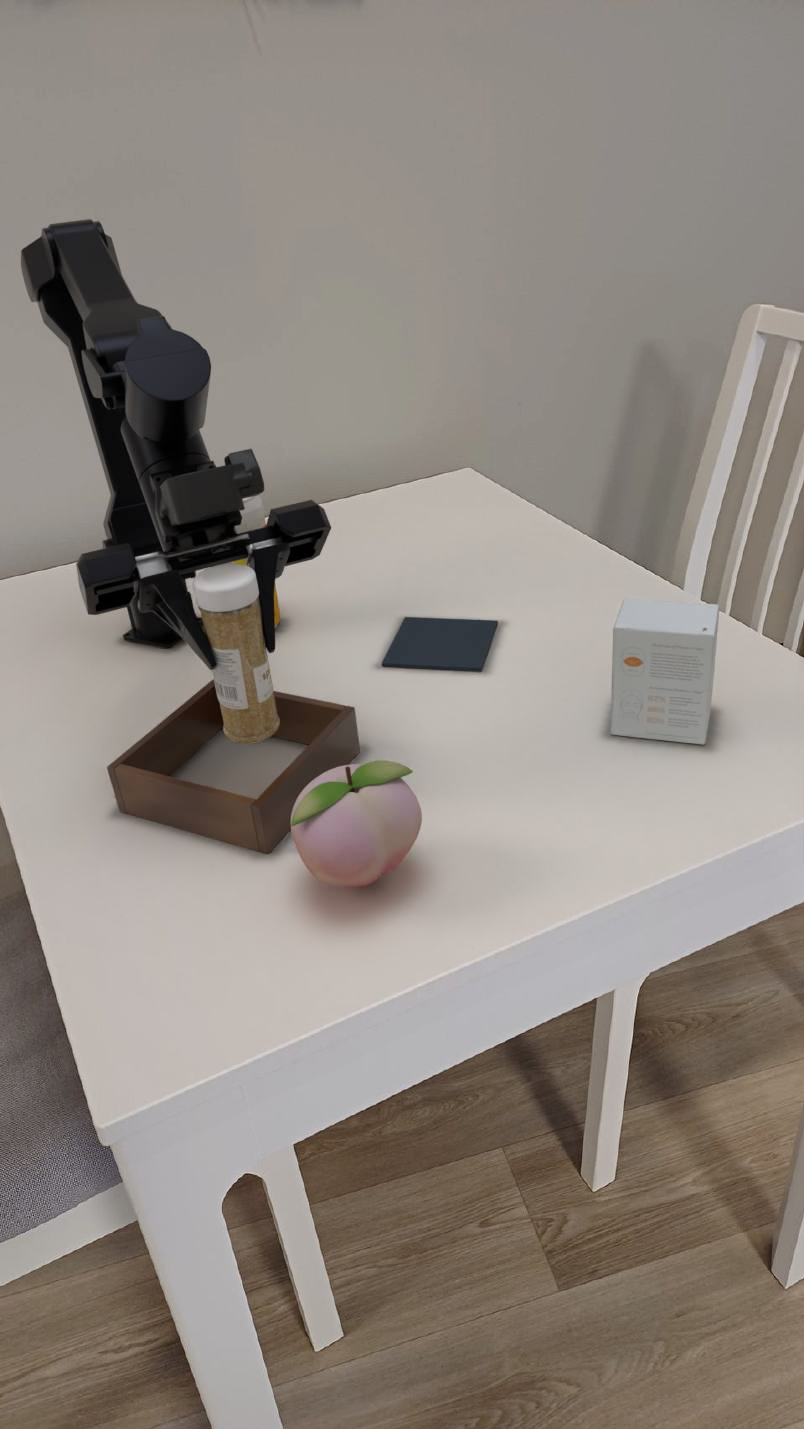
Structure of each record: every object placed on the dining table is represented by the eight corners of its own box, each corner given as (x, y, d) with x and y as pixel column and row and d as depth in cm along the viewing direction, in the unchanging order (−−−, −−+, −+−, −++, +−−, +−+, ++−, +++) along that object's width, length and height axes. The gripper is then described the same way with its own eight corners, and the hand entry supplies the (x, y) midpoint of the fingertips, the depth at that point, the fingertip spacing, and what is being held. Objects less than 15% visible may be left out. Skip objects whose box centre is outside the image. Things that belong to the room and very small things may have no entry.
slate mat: (381, 666, 98) (381, 663, 98) (405, 620, 106) (404, 616, 106) (481, 671, 96) (481, 668, 95) (497, 623, 104) (497, 620, 103)
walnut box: (119, 811, 81) (106, 766, 79) (222, 720, 92) (213, 678, 89) (268, 854, 75) (259, 807, 73) (360, 750, 86) (355, 707, 83)
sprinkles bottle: (291, 731, 78) (266, 574, 71) (239, 753, 76) (209, 594, 68) (263, 707, 81) (236, 555, 74) (213, 728, 79) (180, 574, 72)
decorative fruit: (373, 823, 77) (360, 715, 72) (445, 872, 72) (437, 759, 66) (274, 882, 72) (252, 770, 67) (343, 939, 67) (326, 823, 61)
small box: (711, 711, 87) (722, 603, 81) (705, 747, 82) (717, 635, 77) (618, 701, 89) (623, 595, 83) (608, 735, 85) (612, 626, 79)
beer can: (291, 618, 108) (271, 486, 100) (262, 644, 104) (239, 508, 96) (245, 611, 111) (221, 482, 103) (214, 636, 106) (187, 502, 98)
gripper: (43, 444, 65) (116, 659, 63) (306, 392, 72) (382, 587, 69) (55, 519, 76) (118, 706, 73) (284, 468, 82) (349, 640, 79)
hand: (243, 659), depth 74 cm, fingers closed on sprinkles bottle, 4 cm apart
